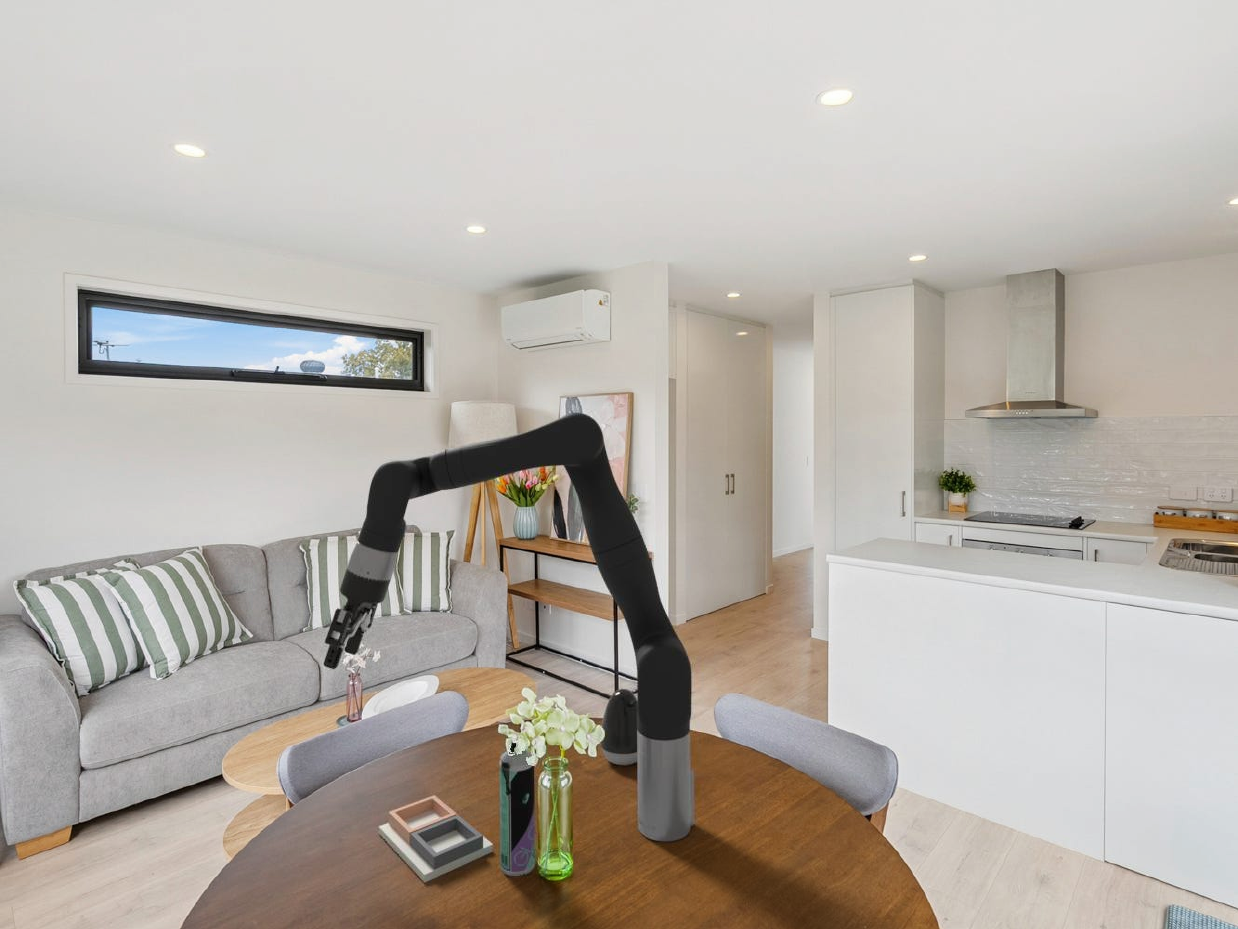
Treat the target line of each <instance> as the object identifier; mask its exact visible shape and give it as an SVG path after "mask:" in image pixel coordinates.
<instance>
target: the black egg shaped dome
mask: <svg viewBox="0 0 1238 929" xmlns="http://www.w3.org/2000/svg"><path fill="white" fill-rule="evenodd" d="M637 708H638V702H637V697H636V695H635V694H634V692H632V691H631V690H629V689H627V688H619V689H617V690H616V691H614V692H613V693H612V694H611V696H610V698H609V699H608V702H607V704H606V707H605V710H604V712H603V718H602V720H601V726H602V728H603V729H604V730H605V738H604V740H603V741H602V742H600V741H599V746H600V748H601V750H602V753H603V756H604V757H605V758H606V760H607V761H609V762H610V763H612V764H614V765H616V766H629V765H632V764H635V763H637Z"/></svg>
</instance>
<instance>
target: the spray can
mask: <svg viewBox="0 0 1238 929" xmlns="http://www.w3.org/2000/svg"><path fill="white" fill-rule="evenodd" d="M510 746H511V748H510V747H509V748H510V750H511V752H512V753H510V752H509V754H514V753H513V752H514V748H515V747H516V743H513V741H511V743H510ZM529 751H530V750H528V749H527V748H526V749H525V751H522V754H518V755H513V756H509V755H508V750H507V751H505V752H503V753H502V754H501V755H499V756H500V757H499V758H500V759H499V829H500V830H499V835H500V836H499V838H500V840H499V842H500V848H499V850H500V855H499V856H500V870H501V872H502V873H503V874H505V875H506V876H509V877H520V875H521V876H524V875H523V874H525V875H527V874H529V873H531V872H532V871H533V870H534V869H535V867H536V819H535V818H536V810H535V809H536V808H535V807H536V804H535V803H536V802H535V801H536V800H535V799H536V798H535V796H536V795H535V791H536V790H535V788H536V786H535V765H534V766H531V765H528V763H527V761H526V757H528V758H529V757H531V756H532V754H531V752H532V751H531V752H529ZM533 756H534V754H533Z"/></svg>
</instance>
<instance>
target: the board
mask: <svg viewBox="0 0 1238 929" xmlns="http://www.w3.org/2000/svg"><path fill="white" fill-rule="evenodd" d="M378 834H379V836H380V837H382V838H383V840H384V839H385V840H384V841H387V842H386V843H387V844H388V845H389V846H390V848H392V849H393V851H394V852H395V853H396V854H399V857H400V858H401V859H402V860H403V862H405V863H406V864H407V865H408V866H409V868H410V869H411V870H412V871H413V872H414V873H415V874H416V876H418V877H419V878H420V879H421V880H422V882H423V883H427V882H429V881H432V880H434V879H436V878H438V877H440V876H442V875H445V874H447V873H449V872H451V871H453V870H456V869H458V868H460V867H463V866H464V865H466V864H469V863H471V862H473V861H476V860H478V859H480V858H482V857H484V856H486V855H488V854H491V853H493V852H494V844H493V843H492V842H491V841H490V840H488V838H487V837H485V836H484V835H483V834H482V833H480V832H479V831H478V830H477V829H476V828H475V827H473V826H472V825H471V824H470V823H469V822H467V821H466V820H465V819H463V817H461V816H460V815H459V814H458V813H457V812H455V811H454V810H453V809H452V808H450V807H449V806H448V805H447V804H446V803H444V802H443V801H442V800H441V799H440V798H438V797H437V796H436V794H435V795H431V796H428V797H426V798H422V799H420V800H417V801H416V802H412V803H409V804H407V805H404V806H401V807H399V808H396V809H392V810H390V811H388V822H387V823H384V824H381V825H379V826H378Z"/></svg>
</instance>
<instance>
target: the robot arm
mask: <svg viewBox="0 0 1238 929" xmlns="http://www.w3.org/2000/svg"><path fill="white" fill-rule="evenodd" d="M556 466H563V467H564V469H565V471H566V473H567V475H568V477H569V480H570V481H571V483H572V485H573V488H574V491H575V493H576V496H577V498H578V502H579V506H580V511H581V516H582V520H583V525H584V530H585V532H586V538H587V540H588V543H589V544H588V545H589V547H590V550H591V553H592V555H593V559H594V560H595V563H596V566H597V569H598V572H599V574H600V576H601V577H602V578H601V579H602V580H603V582H604V583H605V586H606V588H607V590H608V592H609V594H611V597H612V599H613V600H614V601H615V604H616V605H617V606H618V608H619V610H620V612H621V614H622V616H623V618H624V620H625V623H626V627H627V630H628V632H629V636H630V640H631V643H632V646H633V650H634V651H633V652H634V656H635V662H636V663H635V664H636V671H637V672H636V673H637V674H636V676H637V678H636V679H637V680H636V681H637V682H636V684H637V688H636V689H637V695H636V696H637V697H636V698H637V702H638V708H637V762H636V763H637V829H638V831H639V832H640V833H641V835H642V836H644V837H645V838H647V839H650V840H653V841H657V842H674V841H678V840H681V839H683V838H685V837H686V836H687V835H688V834H689V833H690V831H691V827H692V826H694V825H695V772H694V770H693V769H691V742H690V741H691V740H690V739H691V736H690V735H691V732H690V731H691V718H692V688H693V687H692V686H693V684H692V667H691V666H692V665H691V662H690V658H689V655H688V653H687V651H686V648H685V646H684V645H683V643H682V641H681V640H680V638H679V636H678V634H677V632H676V630H675V629H674V627H673V625H672V623H671V621H670V618H669V617H668V614H667V612H666V610H665V608H664V605H663V603H662V599H661V596H660V592H659V591H660V590H659V587H658V583H657V579H656V578H657V577H656V574H655V570H654V567H653V563H652V559H651V557H650V553H649V550H648V548H647V545H646V542H645V541H644V538H643V535H642V533H641V530H640V528H639V526H638V524H637V521H636V520H635V516H634V515H633V513H632V510H631V509H630V506H629V505H628V503H627V501H626V498H624V496H623V494H622V492H621V491H620V489H619V487H618V484H617V482H616V480H615V477H614V474H613V470H612V467H611V463H610V460H609V457H608V453H607V450H606V446H605V439H604V434H603V431H602V428H601V427H600V424H599V423H598V422H597V420H595V419H594V418H593V417H591V416H590V415H588V414H587V413H586V414H585V413H582V412H570V413H567V414H564V415H563V416H561V417H560V418H558V419H555V420H553V421H550V422H548V423H546V424H543V425H541V426H539V427H536V428H533V429H530V430H528V431H524V432H520V433H517V434H513V435H509V436H505V437H504V436H503V437H498V438H495V439H489V440H483V441H478V442H473V443H467V444H462V445H459V446H455V447H454V446H453V447H450V448H446V449H442V450H439V451H437V452H435V453H433V454H432V455H427V456H421V457H416V458H411V459H405V460H388V461H386V462H384V463H382V464H381V465H380V466H379V467H378V468H377V469H376V471H375V472H374V474H373V477H372V480H371V482H370V486H369V491H368V496H367V504H366V515H365V518H364V521H363V524H362V526H361V529H360V533H359V535H358V539H357V542H356V543H355V546H354V548H353V550H352V552H351V555H350V558H349V560H348V564H347V567H346V569H345V573H344V576H343V578H342V582H341V585H340V589H339V591H340V593H341V595H343V596H344V597H345V598H346V599H347V601H346V603H345V604H344V605H343V606H342V608H339V607H337V608H336V609H335V611H334V615H333V618H332V620H331V622H330V625H329V626H330V627H329V629H328V630H327V635H326V637H325V639H324V644H326V645H329V646H328V649H327V652H326V655H325V658H324V661H323V666H324V667H325V668H328V669H331V670H335V669H337V668H338V667H339V664H340V661H341V658H342V655H343V652H345V653H347V654H350V655H354V656H356V654H358V652H359V651H360V649H359V648H360V646H361V644H362V640H363V637H364V635H365V634H366V633H367V631H368V629H370V628H371V627H372V625H373V621H374V618H375V616H376V612H377V608H378V605H379V604H381V603H383V602H384V600H385V598H386V596H387V592H388V589H389V587H390V583H391V579H392V577H393V574H394V571H395V569H396V566H397V565H396V564H397V561H398V560H397V559H398V556H399V552H400V549H401V545H402V542H403V538H404V536H405V532H406V528H407V523H406V520H405V514H406V511H407V507H408V504H409V501H410V500H413V499H417V498H420V497H424V496H428V495H431V494H435V493H437V492H441V491H448V490H455V489H460V488H464V487H468V486H473V485H477V484H480V483H483V482H484V483H485V482H489V481H492V480H495V479H497V478H501V477H504V476H507V475H510V474H514V473H518V472H520V471H526V470H531V469H532V470H533V469H535V468H543V467H556ZM338 635H339V636H338ZM337 637H338V638H337Z"/></svg>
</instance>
